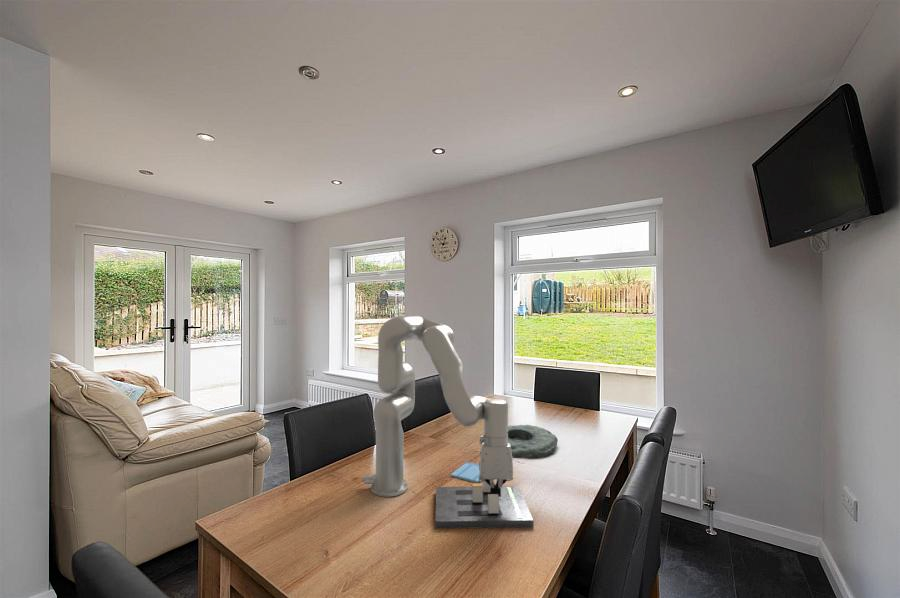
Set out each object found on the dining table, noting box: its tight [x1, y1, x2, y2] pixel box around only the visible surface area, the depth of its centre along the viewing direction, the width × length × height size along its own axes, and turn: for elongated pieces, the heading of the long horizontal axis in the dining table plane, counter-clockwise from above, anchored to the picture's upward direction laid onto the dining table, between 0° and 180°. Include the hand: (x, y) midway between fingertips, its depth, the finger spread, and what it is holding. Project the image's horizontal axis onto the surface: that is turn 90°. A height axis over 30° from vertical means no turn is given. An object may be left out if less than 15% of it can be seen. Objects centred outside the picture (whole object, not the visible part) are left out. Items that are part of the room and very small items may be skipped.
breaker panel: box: [435, 485, 534, 530], centre depth 122 cm, size 28×21×2 cm
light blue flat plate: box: [450, 461, 483, 483], centre depth 148 cm, size 14×12×1 cm
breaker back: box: [482, 481, 491, 492], centre depth 128 cm, size 3×2×5 cm, turn 92°
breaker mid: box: [471, 482, 483, 502], centre depth 122 cm, size 3×2×5 cm, turn 92°
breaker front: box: [488, 494, 499, 513], centre depth 115 cm, size 3×2×5 cm, turn 92°
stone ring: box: [481, 424, 559, 459], centre depth 180 cm, size 34×34×5 cm
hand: (495, 498), depth 122 cm, fingers closed
